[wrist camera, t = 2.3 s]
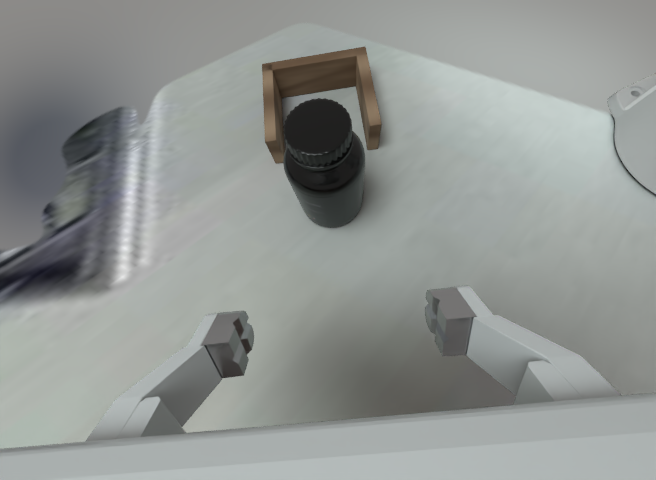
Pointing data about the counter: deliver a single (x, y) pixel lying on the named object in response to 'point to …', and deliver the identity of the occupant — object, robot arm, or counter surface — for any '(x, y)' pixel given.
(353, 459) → the robot arm
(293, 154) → the supplement bottle
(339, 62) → the walnut holder
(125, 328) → the counter surface
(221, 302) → the counter surface
